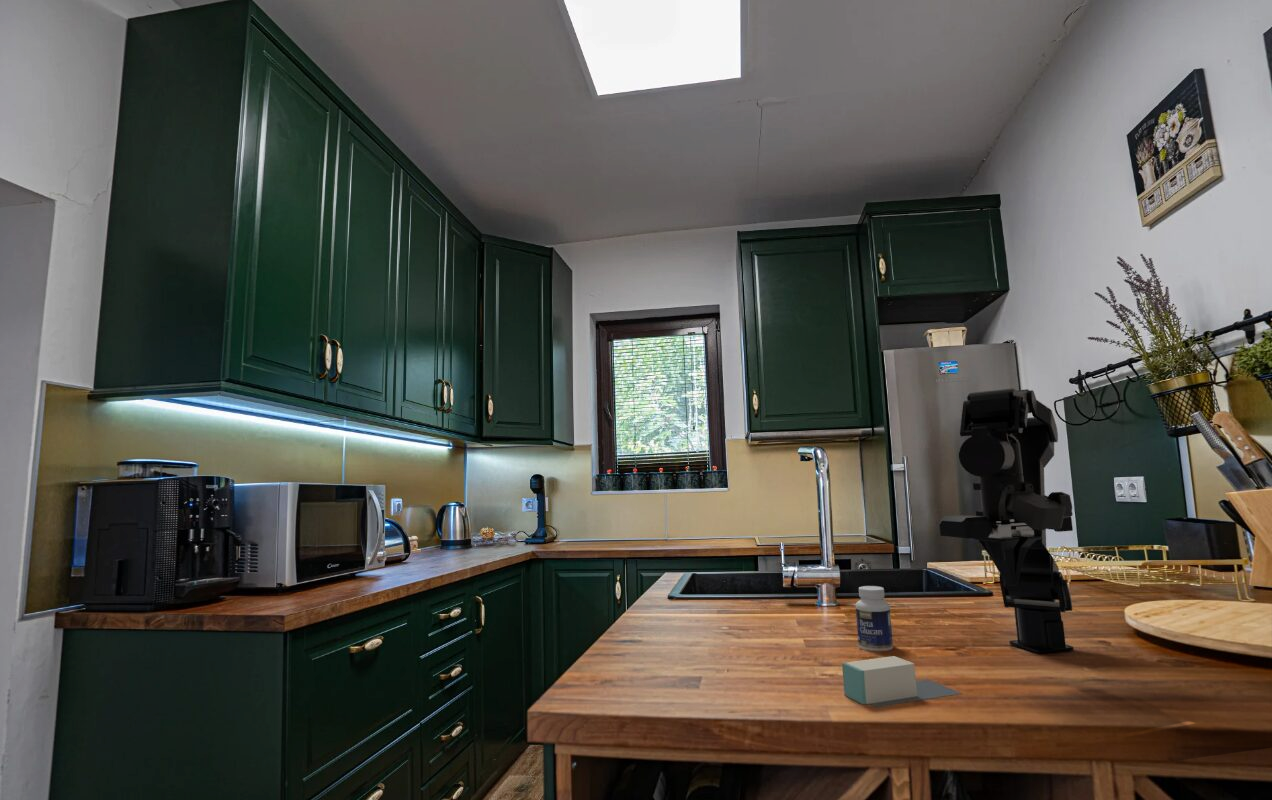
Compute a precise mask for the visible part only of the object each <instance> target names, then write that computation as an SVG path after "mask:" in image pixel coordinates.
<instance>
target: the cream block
mask: <svg viewBox="0 0 1272 800" xmlns="http://www.w3.org/2000/svg"><path fill="white" fill-rule="evenodd" d="M841 665H842V679H843V680H842V681H843V691H844V692H843V693H844V696H846V697H847V698H849V699H852V700H853V701H855V702H857V703H859V704H861V705H870V703H877V702H883V701H890V700H896V699H903V698H909V697H915V696H917V688H916V681H917V679H916V668H915V667H916V666H915V663H913V662H911V661H908V660H907V659H906V660H905V659H903V658H900V657H897V656H895V655H893V656H885V657H878V658H870V659H864V660H863V659H861V660H856V661H847V662H841Z"/></svg>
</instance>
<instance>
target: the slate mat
mask: <svg viewBox="0 0 1272 800" xmlns="http://www.w3.org/2000/svg"><path fill="white" fill-rule="evenodd" d="M916 688H917V696H915V697H909V698H903V699H896V700H890V701H883V702H877V703H870V704H869V705H870V706H872V707H874V708H879V707H887V706H893V705H899V704H906V703H912V702H913V703H914V702H919V701H925V700H931V699H937V698H944V697H951V696H956V695H963V694H964V693H963V692H960V691H958V690H955V689H953V688H950V687H948V686H946V685H944V684H941V683H939V682H935V681H934V680H933V681H932V680H930V679H928V678H925V679H918V680H917V679H916Z"/></svg>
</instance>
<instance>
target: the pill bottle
mask: <svg viewBox="0 0 1272 800" xmlns="http://www.w3.org/2000/svg"><path fill="white" fill-rule="evenodd" d="M858 596H859V598H860V599H859V600H858V601H857V602H856V603H855V617H856V629H857V641H858V642H857V643H858V648H859V649H861V650H862V651H863V650H866V651H870V652H871V651H872V652H886V651H890V650H893V648H894V643H893V630H892V628H893V627H892V617H891V607H890V603H889V602H888V601H886V600H884V598H885V589H884V587H882V586H878V585H877V586H876V585H863V586H859V587H858Z"/></svg>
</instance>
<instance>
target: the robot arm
mask: <svg viewBox="0 0 1272 800" xmlns="http://www.w3.org/2000/svg"><path fill="white" fill-rule="evenodd" d="M1029 414H1031V415H1032V417H1029ZM959 435H960V438H962V437H963V438H967V439H966V440H965V441H963V442H962V443H961V446H960V448H959V452H958V459H959V463H960V465H961V466H962V468H963V469H964V470H965V471H966V472H967V473H969V474H970V475H973V476H975V477H978V482H975V483H974V482H973V483H972V487H973V491H979V493H980V494H979V495H980V500H981V501H980V502H981V510H976V511H975V515H967V514H965V515H963V514H960V515H946V516H945V515H944V516H943V517H942V518H941V520H940V521H939V525H938V526H939V534H940V536H941V537H950V538H959V539H973V540H974V541H978V542H979V544H980V545H981V546H982V548H983V549H984V551H985V552H986V553H987V555H988V556H989V558H990V559H991V561H992V562H993V564H994V565H995V567H996V569H997V571H998V572H999V585H1000V590H1001V596H1002V600H1003V606H1004V608H1008V609H1009V608H1013V609H1014V610H1013V611H1014V616H1015V617H1014V619H1015V628H1016V637H1017V639H1013V640H1009V641H1008V643H1009V644H1010V645H1012V646H1015V647H1018V648H1021V649H1023V650H1027V651H1031V652H1034V653H1036V654H1045V653H1047V654H1048V653H1055V652H1056V653H1057V652H1066V651H1073V650H1075V649H1074V646H1073V645H1069V644H1067V643H1066V636H1065V627H1064V620H1062V619H1063V618H1062V613H1066V612H1072V611H1073V601H1072V596H1071V592H1070V588H1069V584H1068V581H1067V580H1066V579H1064V575H1063V572H1062V571H1059V566H1058V564H1057V562H1056V561H1055V559H1054V558H1053V555H1052V554H1051V552H1050V551H1049V550H1048V549H1047V533H1046V532H1047V530H1054V531H1055V533H1056V532H1057V533H1061V532H1071V531H1073V529H1074V528H1073V520H1072V516H1073V504H1072V499H1071V495H1070V494H1068V493H1065V492H1063V491H1055V492H1054V491H1053V492H1050V493H1049V494H1048V495H1046V494H1045V493H1046V492H1045V488H1046V487H1045V468H1046V466H1047V465H1048V464H1049V462H1050V461H1051V460H1052V459H1053V458H1054V456H1055V443H1058V441H1059V434H1058V427H1057V423H1056V420H1055V417H1054V414H1053V410H1052V409H1051V408H1049V407H1048V406H1047V405H1045V404H1043V403H1042V402H1041V401H1039V400H1038V399H1037V397H1036V394H1035V392H1034V390H1033V389H1032V390H1029V389H1015V388H1004V389H996V390H995V389H993V390H985V391H977V392H976V391H975V392H970V393H968V394H967V396H966V400H964V401H963V404H962V410H961V420H960V429H959Z"/></svg>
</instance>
